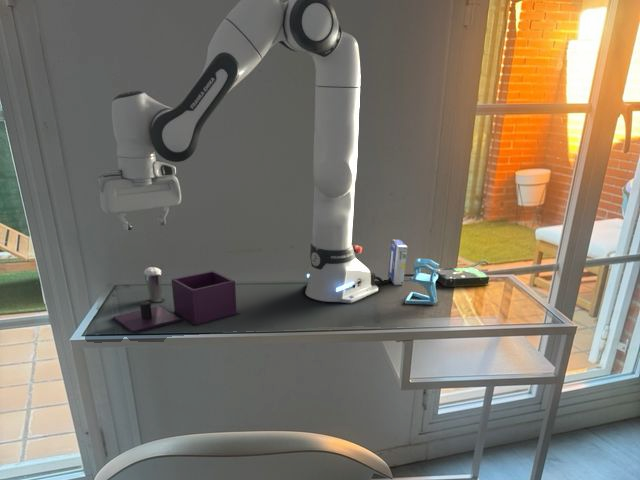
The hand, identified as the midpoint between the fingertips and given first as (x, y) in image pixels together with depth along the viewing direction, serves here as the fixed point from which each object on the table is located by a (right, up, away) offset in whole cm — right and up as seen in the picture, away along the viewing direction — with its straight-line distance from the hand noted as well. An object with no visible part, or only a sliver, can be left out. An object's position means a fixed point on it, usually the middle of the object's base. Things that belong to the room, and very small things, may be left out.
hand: (145, 227), depth 149 cm
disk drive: (+89, -5, +38) cm, 97 cm away
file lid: (0, -23, +2) cm, 23 cm away
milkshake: (-1, -16, +14) cm, 21 cm away
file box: (+14, -20, +8) cm, 26 cm away
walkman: (+68, -5, +36) cm, 77 cm away
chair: (+74, -15, +21) cm, 78 cm away
